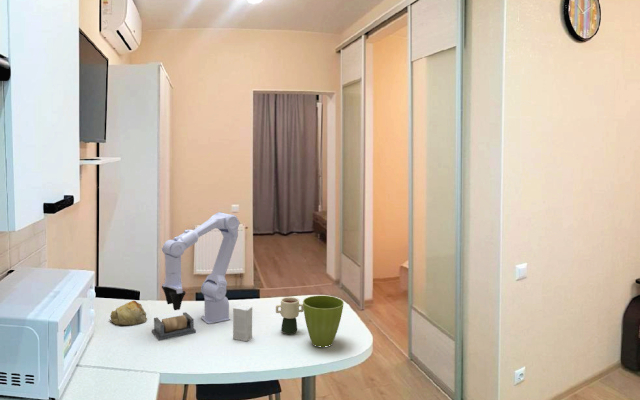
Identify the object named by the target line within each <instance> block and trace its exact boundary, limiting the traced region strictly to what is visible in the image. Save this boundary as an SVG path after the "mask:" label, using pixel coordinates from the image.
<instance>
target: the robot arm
mask: <svg viewBox="0 0 640 400" xmlns="http://www.w3.org/2000/svg"><path fill="white" fill-rule="evenodd" d="M240 223H241V222H240V221H239V218H238V216H236V215H235V214H229V213H223V212H222V211H218V212H216V213H215V214H213V215H211V216H210V218H208V219H207V220H205V221H204V222H203V223H202V224H200V225H199V226H198V227H196V228H194V229H185V230H184V231H183V233H181V234H179V235H178V236H175V237H173V239H168V240H166V241H164V243H163V245H162V247H161V251H162V252H163V255H164V261H165V262H164V265H165V266H164V267H165V269H164V271H165V273H164V274H165V275H164V276H165V278H164V283H162V285H161V289H162V291H163V292H164V297H165V301H166V303H167V305H172V308H173V310H174V311H179V310H181V307H182V302H183V299H184V297H185V295H186V291H185V290H183V289H184V288H183V287H182V286H183V282H182V255H183V254H185V250H187V249H188V248H190V247H191V246H193V245H195V244H196V243H197V242H198V241H199V238H200V237H202V236H203V235H206V234H208V233H209V232H211V231H212V230H215V229H218V231H220V232H221V235H222V236H223V238H222V240H221V244H220V245H219V249H218V254H217V256H216V259H215V262H214V264H213V268H212V271H211V273H210V274H208V275H207V276H206V277H205V280H204V282H203V283H202V284H201V287H200V291H201V294H202V295H203V298H204V315H202V316H201V317H200V318H201V319H202V320H203V321H204V322H205V323H206V324H208V325H209V324H214V323H219V322H224V321H230V320H231V319H230V301H229V299H228V297H227V296H226V294H227V286H228V282H227V280H226V273H227V270H228V268H229V264H230V261H231V258H232V255H233V253H234V249H235V246H236V243H237V241H238V236H239V226H240Z"/></svg>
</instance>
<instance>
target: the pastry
mask: <svg viewBox="0 0 640 400" xmlns="http://www.w3.org/2000/svg"><path fill="white" fill-rule="evenodd" d="M110 320H111V322H112V324H114V325H117V326H136V325H140V324H144V323H146V322H147V321H148V317H147V312H146V311H145V309H144V308H143V305H142V304H141V303H139V302H138V301H136V300H131V301H129V302H126V303H125V304H122V305H120V306H119V307H116V308H115V310H112V311H111V313H110Z"/></svg>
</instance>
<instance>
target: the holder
mask: <svg viewBox="0 0 640 400" xmlns="http://www.w3.org/2000/svg"><path fill="white" fill-rule="evenodd" d="M182 315H185V317H186V320H187V327H186V329H181V330H176V331H171V332H166V333H164V324H163V323H162V320H161V319H159V317H154V318H153V329H151V333H152V334H153V335H154V337H155V338H156V339H157V340H158V341H163V340H167V339H169V340H170V339H172V338H178V337H182V336H186V335H187V336H188V335H192V334H196V333H197V330H196V329H195V328H194V327H195V326H194V324H195V323H194V321H195V319H194V318H193V317H192V316H191V315H190V314H188V313H187V312H186V311H185V312H182Z"/></svg>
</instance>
